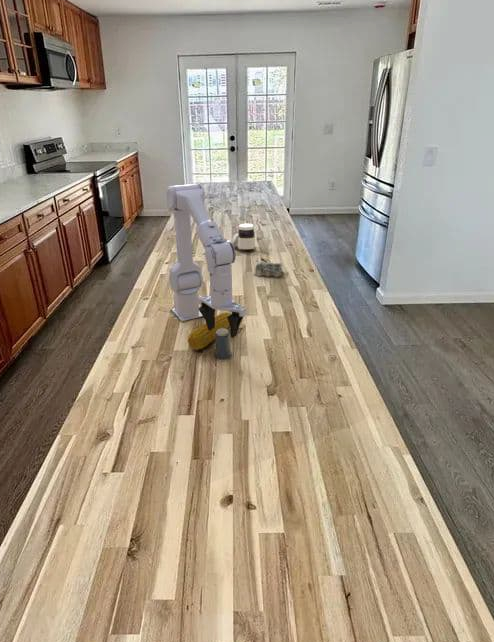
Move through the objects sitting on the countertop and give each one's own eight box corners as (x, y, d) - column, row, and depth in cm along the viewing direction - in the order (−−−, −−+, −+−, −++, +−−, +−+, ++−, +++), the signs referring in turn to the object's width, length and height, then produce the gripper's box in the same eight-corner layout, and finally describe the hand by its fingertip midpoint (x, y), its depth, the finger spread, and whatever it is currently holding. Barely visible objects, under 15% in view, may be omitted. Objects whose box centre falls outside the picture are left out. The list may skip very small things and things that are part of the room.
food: (201, 355, 123) (200, 337, 120) (185, 350, 125) (184, 332, 123) (238, 323, 139) (238, 307, 136) (223, 319, 142) (222, 303, 139)
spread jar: (255, 253, 199) (255, 228, 194) (230, 253, 199) (229, 228, 194) (254, 244, 210) (254, 221, 205) (230, 245, 210) (230, 221, 205)
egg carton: (254, 276, 174) (254, 266, 173) (257, 269, 181) (257, 260, 179) (280, 277, 172) (280, 268, 171) (282, 270, 179) (282, 261, 177)
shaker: (221, 349, 125) (220, 326, 122) (232, 354, 123) (232, 330, 120) (213, 356, 122) (212, 332, 119) (224, 360, 120) (223, 336, 117)
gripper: (252, 288, 113) (252, 333, 119) (208, 276, 121) (210, 319, 126) (237, 297, 108) (238, 344, 114) (192, 285, 115) (194, 330, 121)
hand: (222, 332), depth 120 cm, fingers open, 7 cm apart
